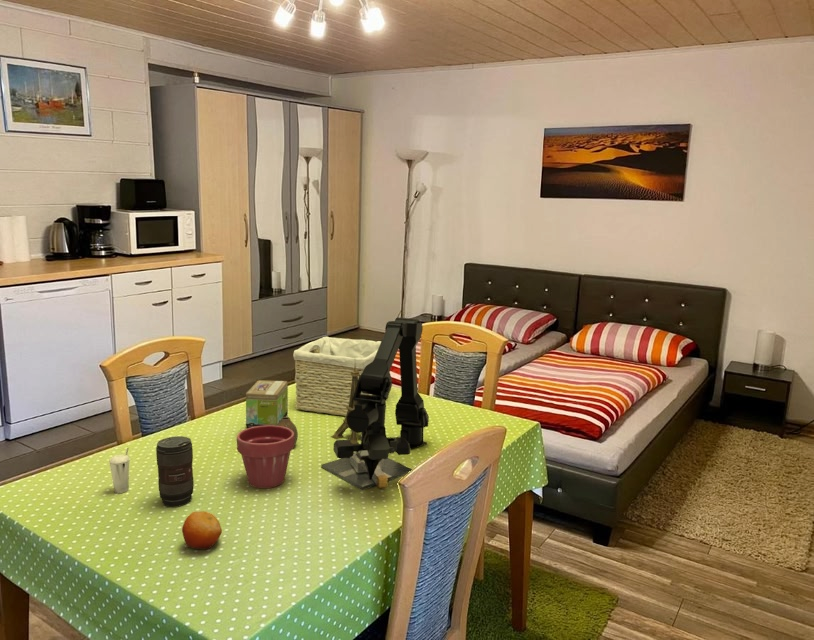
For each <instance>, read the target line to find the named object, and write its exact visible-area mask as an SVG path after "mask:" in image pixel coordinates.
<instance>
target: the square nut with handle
mask: <svg viewBox="0 0 814 640" xmlns="http://www.w3.org/2000/svg"><path fill="white" fill-rule="evenodd" d="M350 463H351V465H352V466H353V467H354V469H355V470H356V472H357V473H362V472H367V469H366V466H365V463H364V460H362V461H360V459H359V456H358V454H357V452H354V455H353V456H352V457H351V458H350ZM382 469H384V459H382V460H381V461H380V462H379V463H378V465H377V467H376V469H375V472H374V474H373V476H372V479H373V481H374V482H375V483H376V484H377V485H376V486H377V487H378V488H379V489H380V488H381V489H382V488H387V487H388V482H389V481H388V478H387V476H386V475H385V474H384V473H383V472H382ZM367 473H368V472H367Z"/></svg>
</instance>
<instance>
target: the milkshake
mask: <svg viewBox="0 0 814 640" xmlns="http://www.w3.org/2000/svg"><path fill="white" fill-rule="evenodd" d="M128 453H129V447H127V448H126V451H125V454H115V455H113V456H112V457H110V458H109V461H108V462H109V467H110V472H111V479H112V486H113V490H114V492H115V493H116V494H124V493H127V492H128V491H129V488H130V486H129V485H130V482H129V481H130V456H128Z"/></svg>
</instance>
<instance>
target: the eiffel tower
mask: <svg viewBox="0 0 814 640" xmlns="http://www.w3.org/2000/svg"><path fill="white" fill-rule="evenodd" d="M350 375H351V376H352V384H351V393H350V400H349V406H347V407H346V408H347V409H348V411H347V415H346V416H344V417H345V418H344V419H342V421H343V422H342V423H341V425H340V426H339V427H338V428H337V429H336V431H334V433H333V435H331V436H330V438H331V439H334V440H341V439H343V438H344V435H343V434H344V433H345V432H346V430H347V429H350V428H349V426H348V424H347V416H348V414H349V412H350V411H352V410H353V409H355V404H356V403H359V401H353V397H354V393H355V390H356V386H357V382H358V376H359V375H360V374H359V372H357V371H356V366H355V368H354V371H353V372H352V373H351V374H350ZM348 440H350V442H351V443H352V444H360V442H359V441H358V433H357V432H354V431H353V430H351V429H350V435H349V438H348Z"/></svg>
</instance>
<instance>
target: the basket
mask: <svg viewBox="0 0 814 640" xmlns="http://www.w3.org/2000/svg"><path fill="white" fill-rule="evenodd" d="M381 341H382V340H378V341H374V340H368V339H367V340H366V339H353V338H352V339H351V338H340V337H329V336H322V337H321V338H318V339H316V340H313V341H311V342H308V343H306V344H304V345H302V346H300V347H299V348H298V349H295V350H294V351H293V355H292V356H293V360H294V366H295V368H294V369H295V378H296V379H295V390H296V391H295V394H296V395H295V398H296V402H295V403H296V404H295V408H296V409H297V410H302V411H306V412H308V411H309V412H314V413H318V414H321V413H325V414H329V415H331V416H333V415H334V416H336V415H337V416H344V417H346V415H347V411H348V409H347V408H346V407H347V406H349V400H350V393H351V384H352V376H351V375H350V374H351V373H352V372H353V371H354V368H355V366H356V371H357V372H359V374H360V375H361V374H362V372H363V370H364V368H365V367H366V366H367V365H368V364H370V363H371V362H373V360H374V358H375V356H376V353H377V351H378V348H379V346H380V343H381ZM312 351H313V352H312ZM360 375H359V376H360ZM359 376H358V379H359ZM361 394H364V393H362V392H361ZM364 395H372V394H364Z"/></svg>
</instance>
